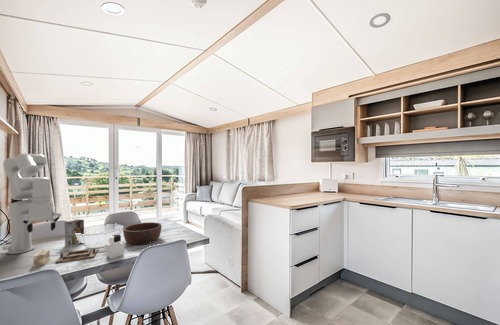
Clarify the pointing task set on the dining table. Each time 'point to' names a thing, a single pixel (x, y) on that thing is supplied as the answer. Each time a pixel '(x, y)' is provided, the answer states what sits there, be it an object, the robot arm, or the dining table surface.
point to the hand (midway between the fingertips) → (41, 230)
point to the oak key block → (41, 258)
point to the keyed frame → (77, 255)
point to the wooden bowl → (142, 233)
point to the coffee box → (73, 232)
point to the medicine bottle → (114, 247)
